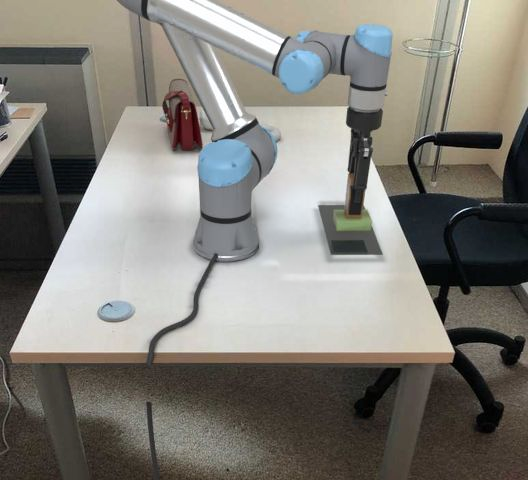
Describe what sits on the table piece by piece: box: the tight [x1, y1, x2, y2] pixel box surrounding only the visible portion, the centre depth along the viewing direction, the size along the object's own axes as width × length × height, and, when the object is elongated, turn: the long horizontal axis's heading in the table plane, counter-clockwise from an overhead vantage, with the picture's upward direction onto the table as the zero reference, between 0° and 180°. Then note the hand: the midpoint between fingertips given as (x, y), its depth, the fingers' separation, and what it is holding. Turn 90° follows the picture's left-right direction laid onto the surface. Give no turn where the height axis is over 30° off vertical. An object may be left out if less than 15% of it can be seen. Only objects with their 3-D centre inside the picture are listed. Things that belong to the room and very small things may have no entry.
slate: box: [317, 204, 384, 256], centre depth 158 cm, size 26×12×2 cm, turn 3°
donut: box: [260, 124, 282, 142], centre depth 208 cm, size 10×4×10 cm
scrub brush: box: [333, 172, 373, 231], centre depth 149 cm, size 6×8×12 cm
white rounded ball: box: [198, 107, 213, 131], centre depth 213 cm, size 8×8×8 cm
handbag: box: [161, 78, 204, 151], centre depth 202 cm, size 28×11×17 cm, turn 11°
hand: (353, 209), depth 150 cm, fingers closed on scrub brush, 4 cm apart
